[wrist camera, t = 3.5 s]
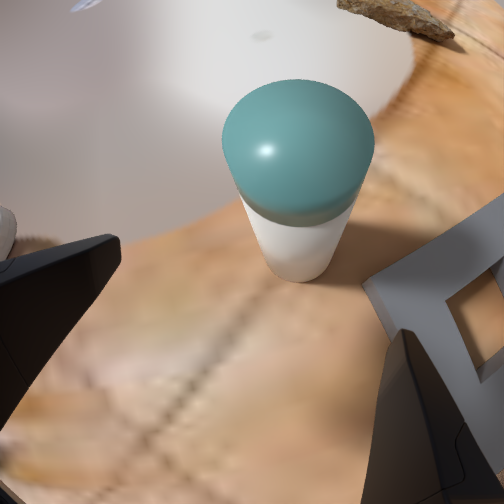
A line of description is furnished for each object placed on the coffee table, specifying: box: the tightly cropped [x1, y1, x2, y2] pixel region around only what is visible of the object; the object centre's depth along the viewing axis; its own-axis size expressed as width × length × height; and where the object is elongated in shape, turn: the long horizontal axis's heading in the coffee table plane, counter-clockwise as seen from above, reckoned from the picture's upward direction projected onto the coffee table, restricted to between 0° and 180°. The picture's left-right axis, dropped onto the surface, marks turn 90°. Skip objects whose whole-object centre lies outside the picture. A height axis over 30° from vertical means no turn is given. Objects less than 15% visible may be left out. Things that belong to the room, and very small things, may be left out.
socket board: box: [362, 193, 504, 475], centre depth 16 cm, size 17×13×2 cm
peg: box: [222, 79, 375, 283], centre depth 15 cm, size 4×4×12 cm
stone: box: [337, 0, 455, 42], centre depth 25 cm, size 14×7×5 cm, turn 63°
